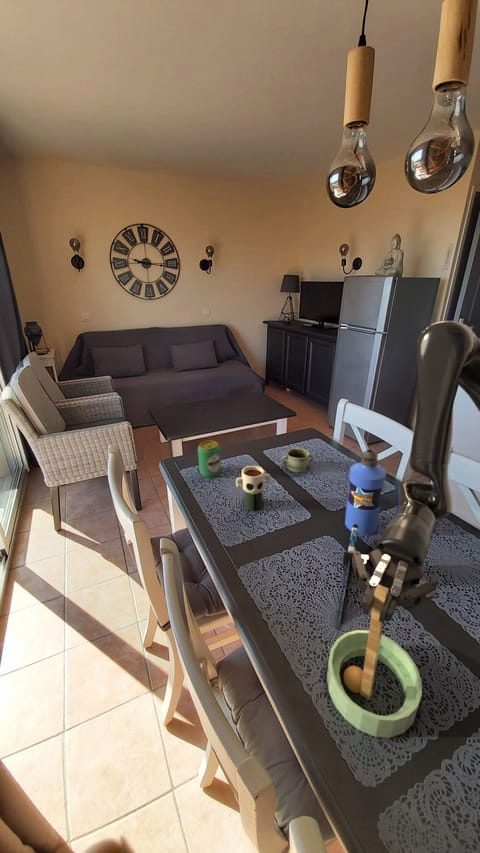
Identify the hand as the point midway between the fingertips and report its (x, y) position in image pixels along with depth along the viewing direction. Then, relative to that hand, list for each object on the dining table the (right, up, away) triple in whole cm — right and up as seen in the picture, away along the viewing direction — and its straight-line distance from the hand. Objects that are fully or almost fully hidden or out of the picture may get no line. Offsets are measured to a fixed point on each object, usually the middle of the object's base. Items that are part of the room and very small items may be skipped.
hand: (374, 614), depth 51 cm
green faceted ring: (+5, -21, +14) cm, 26 cm away
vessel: (+3, +11, +88) cm, 89 cm away
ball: (+2, -21, +14) cm, 25 cm away
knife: (+7, -11, +38) cm, 40 cm away
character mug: (-15, +1, +66) cm, 68 cm away
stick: (+3, -19, +11) cm, 22 cm away
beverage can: (-30, +9, +86) cm, 91 cm away
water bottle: (+17, -3, +56) cm, 58 cm away
